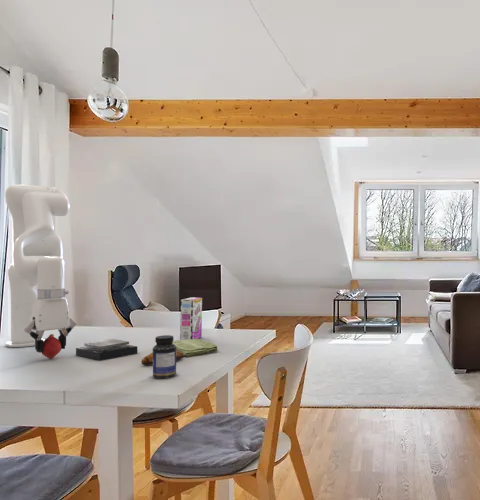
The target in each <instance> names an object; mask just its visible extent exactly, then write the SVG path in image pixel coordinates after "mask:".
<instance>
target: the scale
mask: <svg viewBox="0 0 480 500" xmlns="http://www.w3.org/2000/svg"><path fill="white" fill-rule="evenodd" d="M137 354H138V345H131V344H126V345H120V346H114V347H108V348H103V349H98V348H93V347H89V346H80V347H75V356H78V357H82V358H87V359H91V360H95V361H104V360H112V359H115V358H121V357H125V356H131V355H137Z"/></svg>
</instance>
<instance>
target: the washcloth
mask: <svg viewBox="0 0 480 500" xmlns="http://www.w3.org/2000/svg"><path fill="white" fill-rule="evenodd" d="M173 344H174V345H175V346H176V350H177V351H180V352H182V353H183V355H184V356H183V357H192V356H198V355H203V354H208V353H213V352H218V350H219V349H218V348H219V347H218V345H217V344H215V343H214V342H212V341H206V340H204V339H201V338H199V339H188V340H180V339H179V340H173Z"/></svg>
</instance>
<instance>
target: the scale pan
mask: <svg viewBox="0 0 480 500" xmlns="http://www.w3.org/2000/svg"><path fill="white" fill-rule="evenodd" d="M126 344H127V345H130V341H127V340H122V339H115V338H109V339H103V340H97V341H91V342H84V344H83V345H84V346H83V347H85V346H89V347H93V348H98V349H103V348H108V347H114V346H120V345H126Z"/></svg>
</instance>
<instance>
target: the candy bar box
mask: <svg viewBox="0 0 480 500" xmlns="http://www.w3.org/2000/svg"><path fill="white" fill-rule="evenodd" d="M202 322H203V297H197V296H196V297H188V298H183V299H180V326H179V328H180V332H179V341H180V340H188V339H201V338H202V334H203V332H202V331H203V329H202V327H203V323H202Z"/></svg>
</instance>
